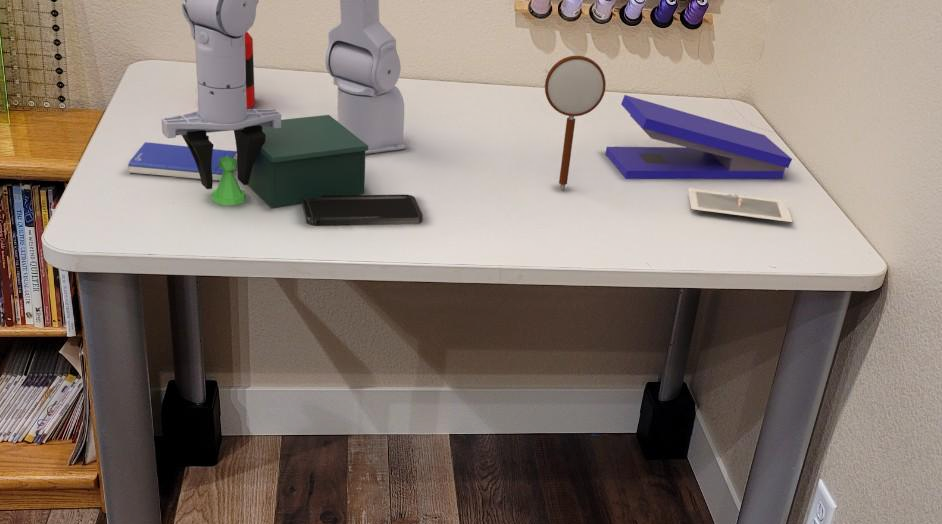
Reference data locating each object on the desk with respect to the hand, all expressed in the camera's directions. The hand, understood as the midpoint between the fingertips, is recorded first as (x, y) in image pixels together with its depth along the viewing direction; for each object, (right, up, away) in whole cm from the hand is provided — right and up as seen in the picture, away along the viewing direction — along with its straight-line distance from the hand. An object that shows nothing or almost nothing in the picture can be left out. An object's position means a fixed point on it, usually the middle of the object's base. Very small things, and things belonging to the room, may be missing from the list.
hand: (225, 184), depth 136 cm
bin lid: (+9, +7, +4) cm, 12 cm away
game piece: (0, -2, +2) cm, 2 cm away
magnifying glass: (+43, +2, +19) cm, 47 cm away
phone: (+17, -4, +4) cm, 18 cm away
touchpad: (+70, -1, +20) cm, 72 cm away
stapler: (+65, +8, +34) cm, 74 cm away
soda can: (-10, +17, +31) cm, 37 cm away
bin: (+8, +1, +8) cm, 11 cm away
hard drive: (-8, +3, +8) cm, 12 cm away
